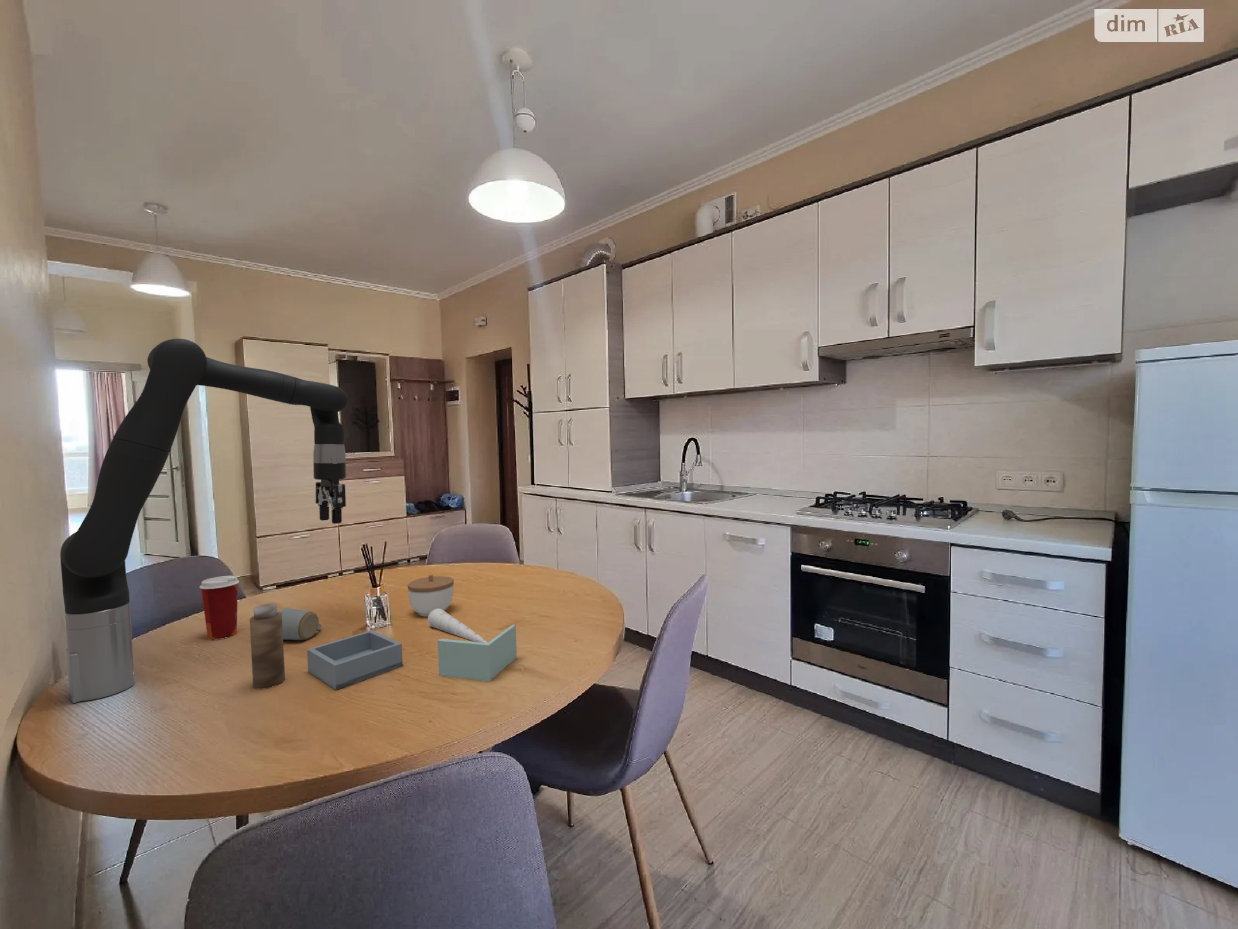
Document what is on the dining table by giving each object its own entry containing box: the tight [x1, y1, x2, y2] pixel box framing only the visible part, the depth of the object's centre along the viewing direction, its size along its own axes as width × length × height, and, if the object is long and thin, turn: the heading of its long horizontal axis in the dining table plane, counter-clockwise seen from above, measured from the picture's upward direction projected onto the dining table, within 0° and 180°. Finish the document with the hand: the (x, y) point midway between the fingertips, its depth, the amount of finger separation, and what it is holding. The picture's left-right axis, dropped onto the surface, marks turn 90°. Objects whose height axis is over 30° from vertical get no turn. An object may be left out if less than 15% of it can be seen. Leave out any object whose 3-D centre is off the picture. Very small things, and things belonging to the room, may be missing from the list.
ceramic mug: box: [278, 607, 322, 641], centre depth 133 cm, size 11×8×8 cm
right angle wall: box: [437, 624, 518, 682], centre depth 113 cm, size 12×12×8 cm
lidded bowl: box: [407, 574, 454, 618], centre depth 150 cm, size 13×13×11 cm
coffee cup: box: [199, 575, 240, 640], centre depth 135 cm, size 8×8×15 cm
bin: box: [306, 629, 404, 691], centre depth 113 cm, size 14×14×5 cm
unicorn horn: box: [427, 609, 488, 643], centre depth 132 cm, size 5×24×5 cm, turn 47°
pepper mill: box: [249, 603, 286, 689], centre depth 107 cm, size 6×6×16 cm
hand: (330, 521), depth 138 cm, fingers open, 8 cm apart
